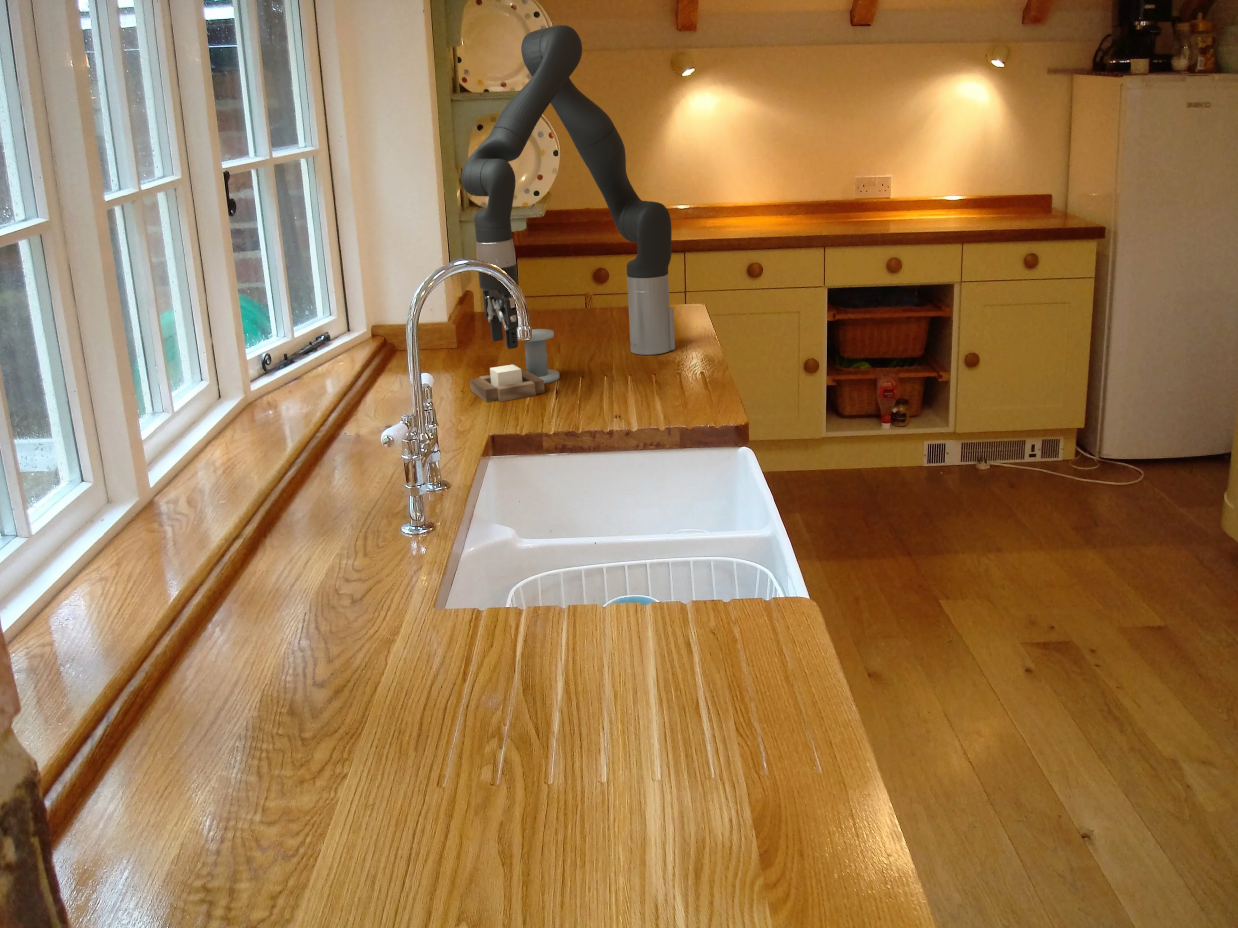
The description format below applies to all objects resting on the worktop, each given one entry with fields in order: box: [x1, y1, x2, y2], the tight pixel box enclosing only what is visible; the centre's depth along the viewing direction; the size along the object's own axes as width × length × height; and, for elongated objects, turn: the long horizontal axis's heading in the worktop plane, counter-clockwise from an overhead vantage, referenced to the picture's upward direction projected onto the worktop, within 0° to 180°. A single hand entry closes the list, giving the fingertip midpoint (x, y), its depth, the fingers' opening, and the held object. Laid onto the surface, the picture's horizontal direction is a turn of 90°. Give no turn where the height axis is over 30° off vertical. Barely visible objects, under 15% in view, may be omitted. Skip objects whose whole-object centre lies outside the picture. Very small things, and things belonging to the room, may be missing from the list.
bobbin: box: [517, 328, 560, 385], centre depth 253 cm, size 9×9×10 cm
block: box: [489, 364, 522, 387], centre depth 245 cm, size 5×5×5 cm
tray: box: [469, 370, 545, 403], centre depth 246 cm, size 12×12×2 cm
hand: (504, 344), depth 243 cm, fingers open, 8 cm apart
